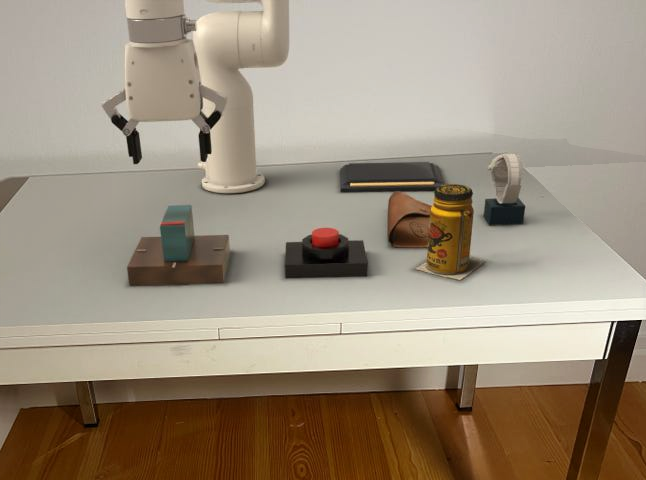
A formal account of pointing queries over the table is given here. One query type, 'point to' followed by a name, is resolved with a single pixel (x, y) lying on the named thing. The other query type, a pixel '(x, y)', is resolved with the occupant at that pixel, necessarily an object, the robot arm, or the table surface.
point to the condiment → (451, 233)
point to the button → (325, 237)
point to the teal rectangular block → (177, 233)
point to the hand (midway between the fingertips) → (171, 160)
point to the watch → (505, 191)
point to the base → (180, 263)
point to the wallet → (390, 177)
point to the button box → (325, 259)
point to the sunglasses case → (408, 221)
